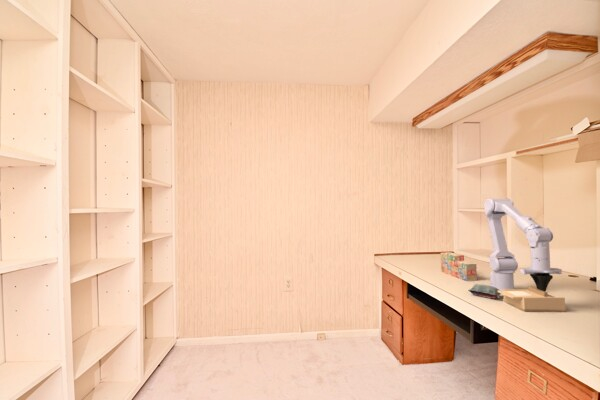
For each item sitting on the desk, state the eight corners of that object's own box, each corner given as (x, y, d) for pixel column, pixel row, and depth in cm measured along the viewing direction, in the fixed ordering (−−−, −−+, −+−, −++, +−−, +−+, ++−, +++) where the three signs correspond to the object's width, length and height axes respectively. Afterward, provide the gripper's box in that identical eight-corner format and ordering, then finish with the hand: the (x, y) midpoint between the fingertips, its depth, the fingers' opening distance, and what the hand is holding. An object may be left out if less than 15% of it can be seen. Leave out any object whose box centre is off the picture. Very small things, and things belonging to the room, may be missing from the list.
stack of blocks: (477, 280, 144) (476, 258, 144) (466, 281, 143) (465, 258, 144) (450, 271, 165) (449, 251, 166) (441, 272, 164) (440, 252, 165)
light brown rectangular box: (503, 301, 112) (503, 289, 113) (540, 301, 112) (539, 289, 112) (524, 311, 101) (524, 298, 102) (565, 311, 101) (564, 297, 101)
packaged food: (474, 291, 127) (474, 280, 127) (504, 297, 118) (504, 286, 118) (467, 295, 122) (467, 284, 122) (499, 302, 112) (498, 290, 113)
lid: (497, 291, 111) (497, 286, 111) (534, 291, 111) (533, 286, 111) (512, 298, 103) (512, 293, 103) (552, 298, 102) (552, 292, 102)
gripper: (529, 260, 103) (531, 295, 103) (568, 259, 103) (570, 295, 102) (515, 256, 110) (517, 289, 110) (551, 256, 110) (553, 289, 109)
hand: (541, 292), depth 107 cm, fingers closed
